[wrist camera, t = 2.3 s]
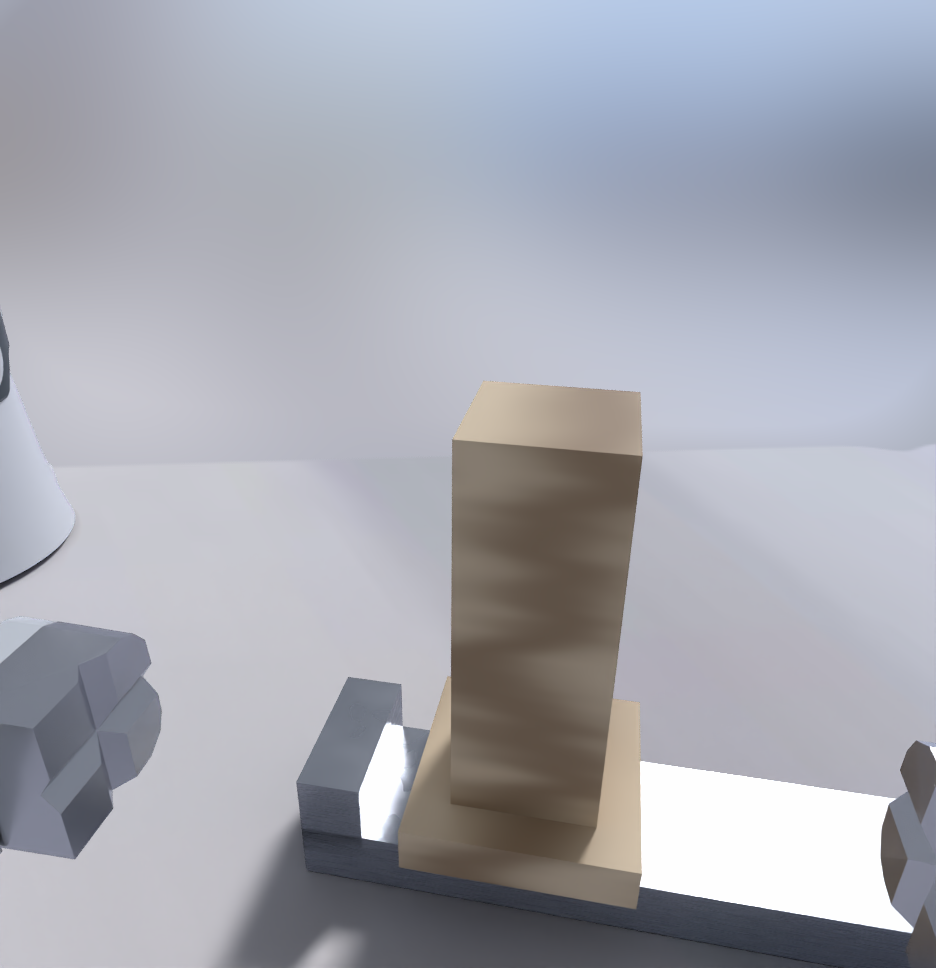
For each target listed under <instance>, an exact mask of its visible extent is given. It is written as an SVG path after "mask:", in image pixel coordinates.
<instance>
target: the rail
mask: <svg viewBox="0 0 936 968" xmlns="http://www.w3.org/2000/svg"><path fill="white" fill-rule="evenodd" d="M429 733H430V730H423V729H417V728H410V727H403V724H402V692H401V684H395V683H387V682H380V681H373V680H366V679H359V678H351V677H348V679H347V681H346V683H345V685H344V687H343V689H342V691H341V693H340V695H339V697H338V699H337V701H336V703H335V705H334V707H333V709H332V711H331V713H330V715H329V717H328V719H327V721H326V723H325V725H324V727H323V729H322V731H321V734H320V736H319V738H318V740H317V742H316V744H315V746H314V748H313V750H312V752H311V754H310V756H309V758H308V760H307V762H306V764H305V766H304V768H303V770H302V772H301V774H300V776H299V778H298V780H297V782H296V783H297V791H298V800H299V809H300V818H301V826H302V835H303V844H304V852H305V861H306V870H309V871H314V872H320V873H325V874H331V875H336V876H342V877H347V878H353V879H358V880H364V881H369V882H375V883H380V884H386V885H391V886H397V887H402V888H408V889H413V890H419V891H424V892H430V893H435V894H441V895H446V896H452V897H457V898H463V899H468V900H474V901H479V902H485V903H490V904H496V905H501V906H507V907H512V908H518V909H523V910H529V911H534V912H540V913H545V914H551V915H556V916H562V917H567V918H573V919H578V920H584V921H589V922H595V923H600V924H606V925H611V926H617V927H622V928H628V929H633V930H639V931H644V932H650V933H655V934H661V935H666V936H672V937H677V938H683V939H688V940H694V941H699V942H705V943H710V944H716V945H721V946H727V947H732V948H738V949H743V950H749V951H754V952H760V953H765V954H771V955H776V956H782V957H787V958H793V959H798V960H804V961H809V962H815V963H820V964H826V965H831V966H837V967H842V968H911V967H910V964H909V960H908V957H907V954H906V951H905V950H906V947H907V945H908V942H909V940H910V937H911V934H912V932H913V929H914V928H913V927H912V926H911V925H910V924H909V923H908V922H907V921H906V920H905V919H904V918H903V917H902V916H901V915H900V914H899V913H898V912H897V911H896V910H895V909H894V908H893V907H892V905H891V903H890V900H889V896H888V893H887V890H886V886H885V883H884V879H883V872H882V866H881V859H880V848H881V828H882V824H883V821H884V817H885V814H886V811H887V807H888V804H889V803H890V802H892V801H893V800H895V799H891V798H884V797H877V796H870V795H863V794H857V793H850V792H843V791H836V790H830V789H823V788H816V787H809V786H803V785H796V784H789V783H782V782H775V781H769V780H762V779H755V778H748V777H742V776H735V775H728V774H721V773H714V772H708V771H701V770H694V769H687V768H681V767H674V766H667V765H660V764H654V763H647V762H641V827H642V878H641V884H640V890H639V896H638V902H637V908H636V909H631V908H626V907H620V906H614V905H609V904H603V903H597V902H592V901H586V900H581V899H575V898H569V897H564V896H558V895H552V894H547V893H541V892H535V891H530V890H524V889H519V888H513V887H507V886H502V885H496V884H490V883H485V882H479V881H474V880H468V879H462V878H457V877H451V876H445V875H440V874H434V873H429V872H423V871H417V870H412V869H406V868H400V867H399V853H398V830H399V827H400V824H401V821H402V817H403V814H404V811H405V808H406V805H407V802H408V799H409V796H410V792H411V789H412V786H413V783H414V780H415V777H416V774H417V770H418V767H419V764H420V761H421V758H422V755H423V752H424V749H425V745H426V742H427V739H428V736H429Z"/></svg>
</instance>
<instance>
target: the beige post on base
mask: <svg viewBox="0 0 936 968" xmlns="http://www.w3.org/2000/svg"><path fill="white" fill-rule="evenodd" d="M641 464H642V426H641V397H640V392H630V391H616V390H602V389H589V388H575V387H560V386H548V385H533V384H520V383H506V382H493V381H483V383H482V385H481V387H480V388H479V390H478V392H477V394H476V396H475V398H474V400H473V402H472V403H471V405H470V407H469V409H468V411H467V413H466V415H465V417H464V418H463V420H462V422H461V424H460V426H459V428H458V430H457V432H456V434H455V435H454V437H453V440H452V604H451V677H449V676H448V677H447V680H446V683H445V686H444V689H443V692H442V695H441V698H440V702H439V705H438V708H437V711H436V714H435V717H434V720H433V724H432V727H431V730H430V733H429V736H428V739H427V742H426V745H425V749H424V752H423V755H422V758H421V761H420V764H419V767H418V770H417V774H416V777H415V780H414V783H413V786H412V789H411V792H410V796H409V799H408V802H407V805H406V808H405V811H404V814H403V817H402V821H401V824H400V827H399V830H398V853H399V867H400V868H406V869H412V870H417V871H423V872H429V873H434V874H440V875H445V876H451V877H457V878H462V879H468V880H474V881H479V882H485V883H490V884H496V885H502V886H507V887H513V888H519V889H524V890H530V891H535V892H541V893H547V894H552V895H558V896H564V897H569V898H575V899H581V900H586V901H592V902H597V903H603V904H609V905H614V906H620V907H626V908H631V909H636V908H637V902H638V896H639V890H640V884H641V878H642V827H641V761H640V702H633V701H626V700H618V699H613V691H614V683H615V675H616V667H617V659H618V651H619V643H620V634H621V626H622V618H623V610H624V602H625V594H626V586H627V578H628V570H629V561H630V553H631V545H632V537H633V529H634V521H635V513H636V505H637V496H638V488H639V480H640V472H641Z"/></svg>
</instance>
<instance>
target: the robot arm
mask: <svg viewBox="0 0 936 968" xmlns="http://www.w3.org/2000/svg"><path fill="white" fill-rule="evenodd" d="M2 316H3V314H2V311H1V307H0V583H1V582H3V581H6V580H8V579H10V578H12V577H14V576H16V575H18V574H20V573H21V572H23V571H25V570H27V569H29V568H30V567H32V566H34V565H35V564H37V563H38V562H40V561H41V560H43V559H44V558H45V557H47V556H48V555H49V554H51V553H52V552H53V551H54V550H56V549H57V548H58V547H59V546H60V545H61V544H62V543H63V542H64V541H65V539H66V538H67V537H68V535H69V534H70V532H71V531H72V528H73V526H74V523H75V512H74V509H73V507H72V506H71V504H70V503H69V501H68V499H67V498H66V496H65V495H64V493H63V491H62V489H61V488H60V486H59V484H58V482H57V478H56V475H55V472H54V470H53V467H52V465H51V464H50V463H49V462H47V460H46V458H45V456H44V453H43V451H42V449H41V447H40V444H39V442H38V439H37V437H36V434H35V432H34V429H33V427H32V424H31V422H30V419H29V417H28V414H27V412H26V409H25V407H24V404H23V402H22V399H21V397H20V394H19V392H18V389H17V387H16V385H15V382H14V380H13V378H12V375H11V373H10V369H9V342H8V338H7V334H6V331H5V327H4V323H3V319H2ZM150 665H151V660H150V656H149V653H148V649H147V645H146V642H145V640H144V639H142V638H140V637H139V636H137V635H135V634H132V633H126V632H120V631H114V630H107V629H101V628H95V627H89V626H83V625H77V624H71V623H64V622H52V621H47V620H41V619H34V618H28V617H22V616H20V617H16V618H11V619H7V620H4V621H3V622H2V623H0V853H1V852H2V849H1V848H7V849H13V850H19V851H26V852H32V853H38V854H44V855H51V856H57V857H63V858H69V859H76V857H77V856H78V855H79V853H80V852H81V851H82V849H83V848H84V847H85V845H86V844H87V843H88V841H89V840H90V839H91V837H92V836H93V835H94V833H95V832H96V831H97V829H98V828H99V827H100V825H101V824H102V823H103V821H104V820H105V819H106V817H107V816H108V815H109V813H110V812H111V811H112V809H113V791H112V790H113V789H115V788H117V787H119V786H121V785H122V784H124V783H126V782H128V781H130V780H131V779H133V778H135V777H137V776H138V774H139V773H140V771H141V770H142V768H143V767H144V766H145V764H146V763H147V761H148V760H149V759H150V757H151V756H152V753H153V750H154V747H155V744H156V742H157V739H158V736H159V733H160V730H161V712H162V711H161V706H160V701H159V696H158V693H157V692H156V691H155V690H154V689H153V688H152V687H151V685H150V684H149V683H148V682H147V681H146V680H145V679H144V678H143V675H144V674H145V672H146V671H147V669H148V668H149V666H150ZM900 771H901V774H902V777H903V779H904V782H905V785H906V787H907V790H908V792H906V793H905V794H903V795H901V796H900V797H898V798H897V799H895V800H893V801H892V802H890V803H889V804H888V807H887V811H886V814H885V817H884V821H883V824H882V828H881V848H880V859H881V866H882V872H883V879H884V883H885V886H886V890H887V893H888V896H889V900H890V903H891V905H892V907H893V908H894V909H895V910H896V911H897V912H898V913H899V914H900V915H901V916H902V917H903V918H904V919H905V920H906V921H907V922H908V923H909V924H910V925H911V926H912V927H913V928H914V929H913V932H912V934H911V937H910V940H909V942H908V945H907V947H906V950H905V951H906V954H907V957H908V960H909V964H910V967H911V968H936V743H932V742H924V741H917V740H916V741H915V742H914V744H913V745H912V746H911V747H910V748H909V749H908V750H907V752H906V755H905V758H904V761H903V763H902V766H901V769H900Z"/></svg>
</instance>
